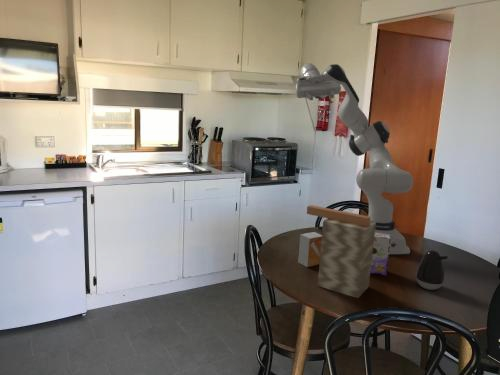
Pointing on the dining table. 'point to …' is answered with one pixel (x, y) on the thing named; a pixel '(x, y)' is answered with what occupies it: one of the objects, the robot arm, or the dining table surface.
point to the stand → (346, 257)
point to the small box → (310, 249)
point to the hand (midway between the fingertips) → (322, 97)
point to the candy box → (380, 253)
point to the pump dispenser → (431, 270)
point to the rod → (338, 215)
